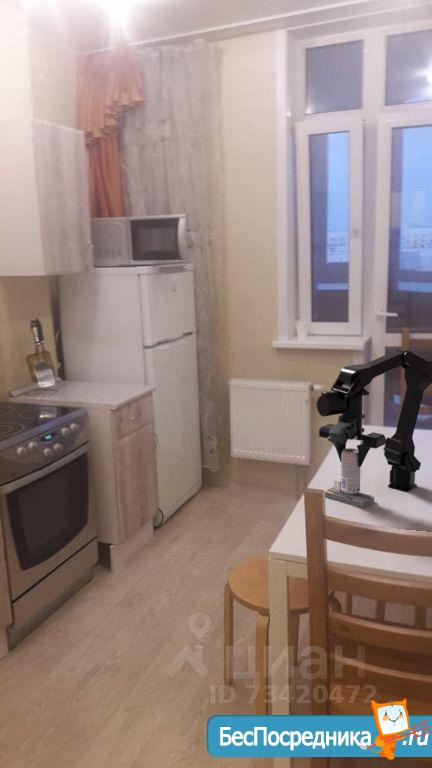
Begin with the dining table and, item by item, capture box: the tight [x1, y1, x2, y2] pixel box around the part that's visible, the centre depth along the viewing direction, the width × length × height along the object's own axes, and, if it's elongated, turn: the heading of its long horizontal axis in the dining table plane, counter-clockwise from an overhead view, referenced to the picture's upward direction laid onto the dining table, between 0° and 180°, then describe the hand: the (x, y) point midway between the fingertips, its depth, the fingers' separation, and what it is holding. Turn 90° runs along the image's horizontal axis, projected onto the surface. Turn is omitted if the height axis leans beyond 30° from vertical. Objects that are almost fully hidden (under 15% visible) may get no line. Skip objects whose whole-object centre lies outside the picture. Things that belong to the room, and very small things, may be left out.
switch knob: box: [333, 477, 343, 492], centre depth 179 cm, size 2×2×4 cm
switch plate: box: [324, 486, 375, 509], centre depth 177 cm, size 13×6×2 cm, turn 46°
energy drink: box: [340, 448, 361, 494], centre depth 175 cm, size 5×5×12 cm
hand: (350, 464), depth 175 cm, fingers closed on energy drink, 5 cm apart
